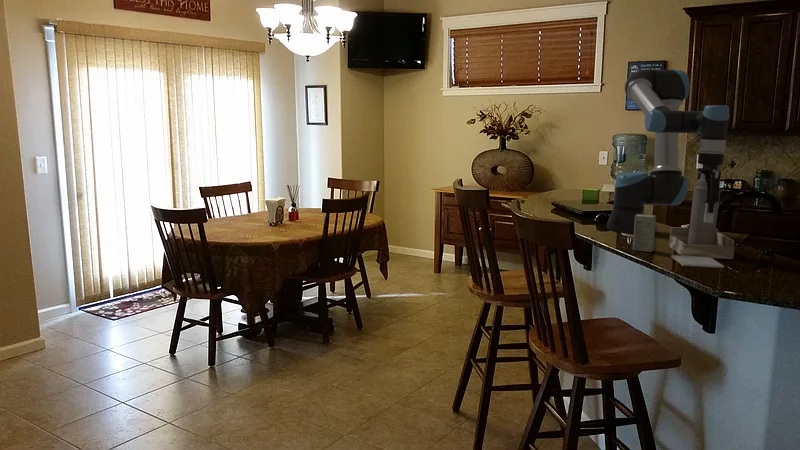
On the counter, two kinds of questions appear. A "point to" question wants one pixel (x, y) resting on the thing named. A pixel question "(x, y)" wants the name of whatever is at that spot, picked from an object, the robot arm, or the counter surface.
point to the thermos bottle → (701, 216)
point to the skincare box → (644, 232)
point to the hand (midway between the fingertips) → (703, 220)
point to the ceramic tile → (697, 261)
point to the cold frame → (719, 250)
